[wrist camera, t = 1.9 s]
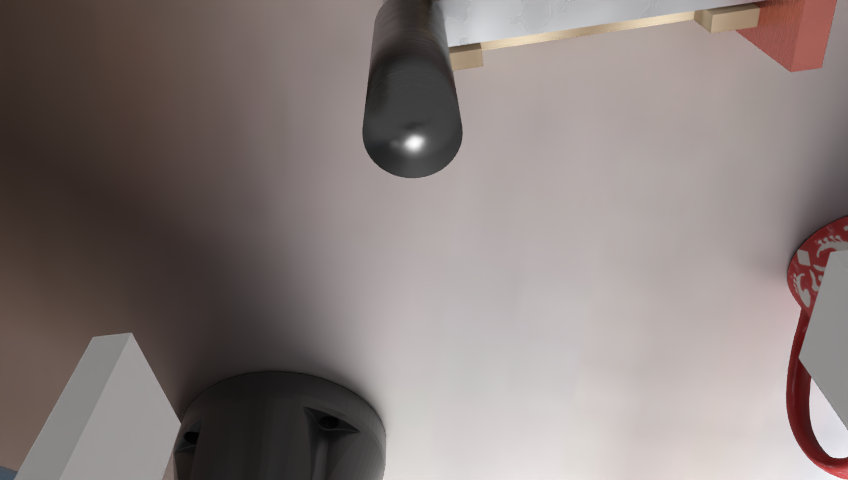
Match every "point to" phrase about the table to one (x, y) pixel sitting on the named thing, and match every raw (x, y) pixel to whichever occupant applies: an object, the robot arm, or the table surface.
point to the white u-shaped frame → (513, 17)
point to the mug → (805, 288)
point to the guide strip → (707, 18)
